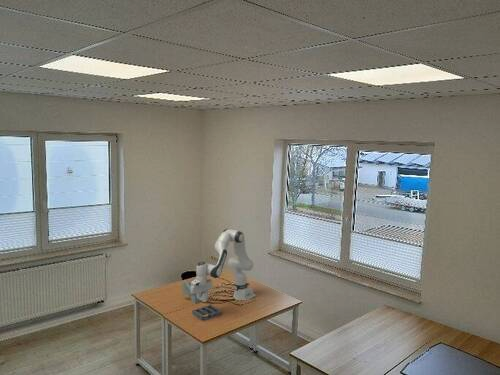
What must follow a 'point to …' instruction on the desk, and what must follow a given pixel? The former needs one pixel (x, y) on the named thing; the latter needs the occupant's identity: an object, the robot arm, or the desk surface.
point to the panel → (202, 296)
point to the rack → (206, 312)
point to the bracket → (186, 291)
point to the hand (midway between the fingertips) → (201, 296)
